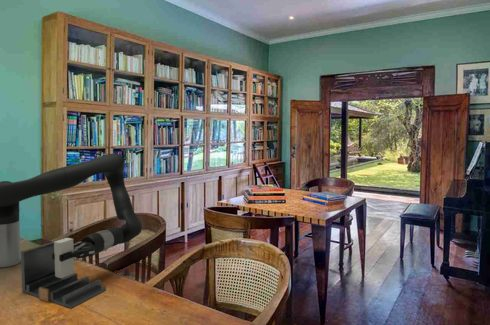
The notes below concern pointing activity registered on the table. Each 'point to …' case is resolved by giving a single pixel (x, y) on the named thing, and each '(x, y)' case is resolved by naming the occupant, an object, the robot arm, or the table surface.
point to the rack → (53, 279)
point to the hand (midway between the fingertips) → (56, 257)
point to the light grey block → (68, 265)
